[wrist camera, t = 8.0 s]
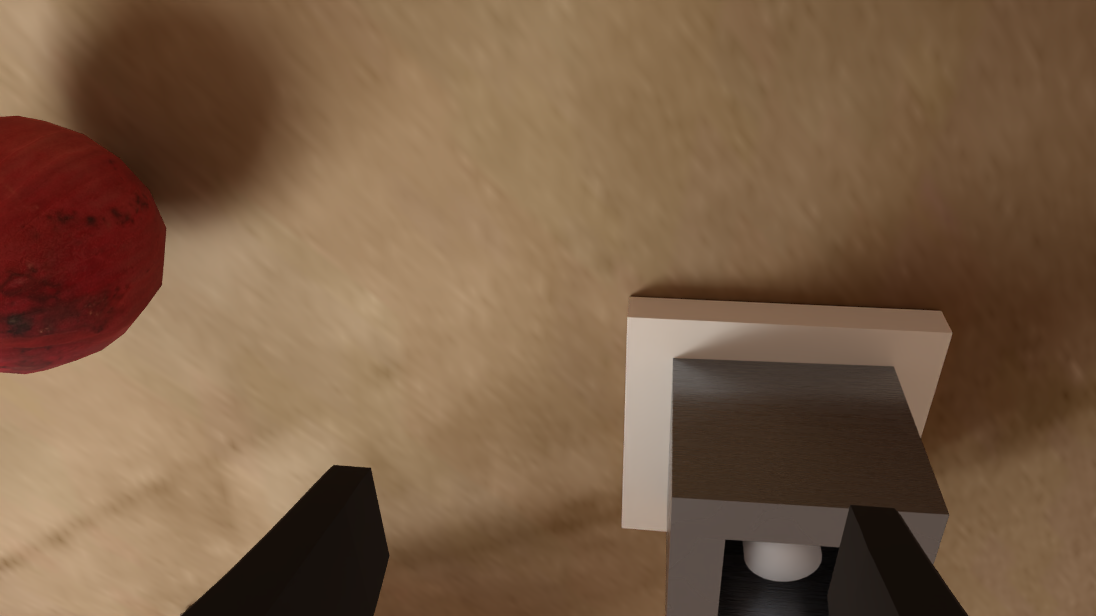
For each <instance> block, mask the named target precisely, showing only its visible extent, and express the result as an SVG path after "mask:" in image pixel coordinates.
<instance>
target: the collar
mask: <svg viewBox="0 0 1096 616" xmlns="http://www.w3.org/2000/svg"><path fill="white" fill-rule="evenodd" d="M850 505H860V506H873V507H886V508H895V509H896V510H897V511H898V512H899V514H900V515H901V516H902V518H903V519H904V521H905V522H906V524H907V526H908V527H909V529H910V530H911V532H912V533H913V535H914V537H915V538H916V540H917V541H918V543H919V544H920V546H921V547H922V549H923V550H924V552H925V553H926V555H927V557H928V558H929V560H930V561H931V563H932V564H934V561H935V558H936V555H937V552H938V548H939V545H940V542H941V539H942V536H943V533H944V530H945V527H946V523H947V520H948V517H949V513H948V510H947V507H946V505H945V502H944V499H943V497H942V494H941V491H940V489H939V486H938V483H937V481H936V478H935V475H934V473H933V470H932V467H931V465H930V462H929V459H928V457H927V454H926V451H925V449H924V446H923V443H922V441H921V438H920V435H919V433H918V430H917V427H916V425H915V422H914V419H913V416H912V414H911V411H910V408H909V406H908V403H907V400H906V398H905V395H904V392H903V390H902V387H901V384H900V382H899V379H898V376H897V374H896V371H895V368H894V366H871V365H844V364H818V363H791V362H765V361H739V360H712V359H686V358H673V367H672V392H671V416H670V441H669V466H668V490H667V532H666V605H665V616H829V609H828V599H827V594H828V590H829V586H830V582H831V578H832V574H833V570H834V567H835V563H836V559H837V555H838V551H839V547H840V543H841V539H842V535H843V531H844V527H845V523H846V519H847V515H848V511H849V507H850ZM743 541H755V542H770V543H784V544H799V545H813V546H820V547H821V552H822V561H821V564H820V565H819V567H818V568H817V569H816V570H815V571H814V572H813V573H812V574H810V575H809V576H807V577H804V578H802V579H799V580H794V581H786V582H781V581H772V580H768V579H765V578H762V577H760V576H758V575H756V574H755V573H753V572H752V571H751V570H750V569H749V568H748V567H747V565H746V563H745V560H744V551H743Z"/></svg>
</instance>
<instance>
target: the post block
mask: <svg viewBox="0 0 1096 616" xmlns="http://www.w3.org/2000/svg"><path fill="white" fill-rule="evenodd" d="M951 337H952V331H951V329H950V327H949V325H948V323H947V321H946V319H945V317H944V315H943V313H942V311H933V310H911V309H889V308H867V307H845V306H823V305H801V304H779V303H757V302H735V301H714V300H692V299H670V298H648V297H629V306H628V317H627V353H626V388H625V423H624V459H623V494H622V528H628V529H640V530H652V531H664V532H667V490H668V466H669V441H670V416H671V392H672V367H673V358H686V359H712V360H739V361H765V362H791V363H818V364H844V365H871V366H894V368H895V371H896V374H897V376H898V379H899V382H900V384H901V387H902V390H903V392H904V395H905V398H906V400H907V403H908V406H909V408H910V411H911V414H912V416H913V419H914V422H915V425H916V427H917V430H918V433H919V435H920V438H921V436H922V433H923V429H924V426H925V423H926V419H927V416H928V413H929V409H930V406H931V403H932V400H933V396H934V393H935V390H936V386H937V383H938V380H939V376H940V373H941V370H942V367H943V363H944V360H945V357H946V353H947V350H948V347H949V343H950V340H951ZM743 551H744V560H745V563H746V565H747V567H748V568H749V569H750V570H751V571H752V572H753V573H755V574H756V575H758V576H760V577H762V578H765V579H768V580H772V581H781V582H786V581H794V580H799V579H802V578H804V577H807V576H809V575H810V574H812V573H813V572H814V571H815V570H816V569H817V568H818V567H819V565H820V564H821V561H822V552H821V547H820V546H813V545H799V544H784V543H770V542H755V541H743Z"/></svg>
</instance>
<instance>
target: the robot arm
mask: <svg viewBox="0 0 1096 616" xmlns="http://www.w3.org/2000/svg"><path fill="white" fill-rule="evenodd" d="M388 559H389V552H388V547H387V542H386V537H385V533H384V528H383V523H382V519H381V514H380V509H379V504H378V500H377V495H376V490H375V486H374V481H373V476H372V471H371V468H365V467H352V466H339V465H333V466H332V467H331V468H330V469H329V470H328V471H327V472H326V473H325V474H324V475H323V476H322V477H321V478H320V479H319V480H318V481H317V482H316V483H315V484H314V485H313V486H312V487H311V488H310V489H309V490H308V491H307V492H306V494H305V495H304V496H303V497H302V498H301V499H300V500H299V501H298V502H297V503H296V504H295V505H294V506H293V507H292V508H291V509H290V510H289V511H288V512H287V513H286V514H285V516H284V517H283V518H282V519H281V520H280V521H279V522H278V523H277V524H276V525H275V526H274V527H273V528H272V529H271V530H270V531H269V532H268V533H267V534H266V535H265V536H264V537H263V538H262V539H261V540H260V541H259V542H258V543H257V544H256V545H255V546H254V547H253V548H252V549H251V550H250V551H249V552H248V553H247V554H246V555H245V556H244V557H243V558H242V559H241V560H240V561H239V562H238V563H237V564H236V565H235V566H234V567H233V568H232V569H231V570H230V571H229V572H228V573H227V574H225V575H224V576H223V577H222V578H221V579H220V580H219V581H218V582H217V583H216V584H215V585H214V586H213V587H211V588H210V589H209V590H208V591H207V592H206V593H205V594H204V595H203V596H202V597H201V598H199V599H198V600H197V601H196V602H195V603H194V604H193V605H192V606H191V607H190V608H188V609H187V610H186V611H185V612H184V613H181V614H180V616H373V615H374V612H375V608H376V605H377V601H378V597H379V594H380V590H381V586H382V583H383V579H384V575H385V571H386V567H387V563H388ZM827 599H828V609H829V616H968V615H967V613H966V612H965V610H964V609H963V608H962V606H961V605H960V603H959V602H958V601H957V599H956V598H955V596H954V595H953V593H952V592H951V590H950V589H949V588H948V586H947V585H946V583H945V582H944V580H943V579H942V577H941V576H940V574H939V573H938V571H937V570H936V569H935V567H934V566H933V564H932V563H931V561H930V560H929V558H928V557H927V555H926V553H925V552H924V550H923V549H922V547H921V546H920V544H919V543H918V541H917V540H916V538H915V537H914V535H913V533H912V532H911V530H910V529H909V527H908V526H907V524H906V522H905V521H904V519H903V518H902V516H901V515H900V514H899V512H898V511H897V510H896V509H895V508H886V507H873V506H860V505H850V507H849V511H848V515H847V519H846V523H845V527H844V531H843V535H842V539H841V543H840V547H839V551H838V555H837V559H836V563H835V567H834V570H833V574H832V578H831V582H830V586H829V590H828V594H827Z"/></svg>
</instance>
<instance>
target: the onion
mask: <svg viewBox="0 0 1096 616" xmlns="http://www.w3.org/2000/svg"><path fill="white" fill-rule="evenodd" d="M165 239H166V226H165V224H164V222H163V219H162V217H161V215H160V213H159V210H158V208H157V206H156V204H155V201H154V199H153V197H152V195H151V193H150V190H149V189H148V188H147V187H146V186H145V185H144V184H143V183H142V182H141V181H140V180H139V178H138V177H137V176H136V175H135V174H134V173H133V172H132V171H131V170H130V169H129V168H128V167H127V166H126V164H125V163H124V162H123V161H122V160H121V159H120V158H119V157H117V156H116V155H114V154H113V153H111V152H110V151H108V150H107V149H105V148H104V147H102V146H101V145H99V144H98V143H96V142H95V141H93V140H92V139H90V138H88V137H87V136H85V135H84V134H81V133H78V132H76V131H73V130H70V129H67V128H64V127H61V126H58V125H55V124H52V123H49V122H46V121H42V120H37V119H32V118H26V117H21V116H6V117H0V372H3V373H17V374H29V373H34V372H39V371H44V370H48V369H51V368H54V367H57V366H60V365H63V364H67V363H70V362H73V361H76V360H78V359H81V358H83V357H86V356H88V355H91V354H93V353H96V352H98V351H101V350H103V349H104V348H105V347H107V346H108V345H109V344H111V343H112V342H113V341H115V340H116V339H117V338H119V337H120V336H122V335H123V334H124V333H125V332H126V331H127V329H128V328H129V327H130V326H131V325H132V323H133V322H134V321H135V320H136V318H137V317H138V316H139V315H140V314H141V312H142V311H143V310H144V309H145V308H146V306H147V305H148V303H149V302H150V301H151V299H152V298H153V297H154V295H155V294H156V292H157V291H158V290H159V288H160V287H161V285H162V277H163V266H164V253H165Z"/></svg>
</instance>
